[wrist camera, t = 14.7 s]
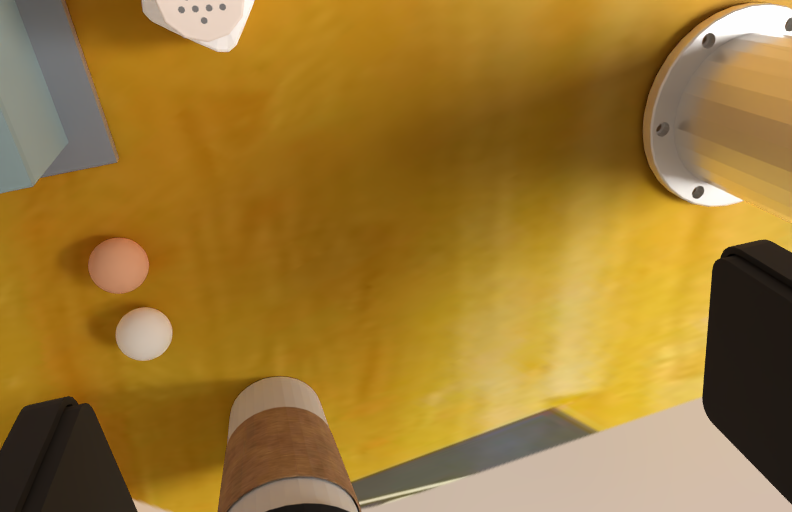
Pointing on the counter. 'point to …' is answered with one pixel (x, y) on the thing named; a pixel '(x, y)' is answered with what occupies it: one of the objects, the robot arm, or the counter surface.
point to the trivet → (68, 86)
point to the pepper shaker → (202, 20)
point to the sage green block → (24, 108)
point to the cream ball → (144, 333)
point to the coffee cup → (282, 453)
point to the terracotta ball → (118, 265)
